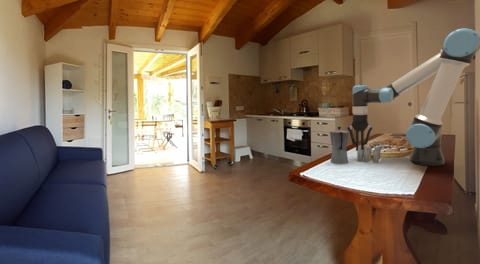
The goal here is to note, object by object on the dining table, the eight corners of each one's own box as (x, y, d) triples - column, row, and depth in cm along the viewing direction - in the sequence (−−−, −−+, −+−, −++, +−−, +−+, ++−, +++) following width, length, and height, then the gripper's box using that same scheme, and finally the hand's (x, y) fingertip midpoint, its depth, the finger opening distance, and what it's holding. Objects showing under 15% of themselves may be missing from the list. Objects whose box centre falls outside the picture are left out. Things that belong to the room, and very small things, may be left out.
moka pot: (345, 160, 164) (345, 124, 161) (353, 167, 149) (353, 128, 146) (327, 160, 165) (327, 125, 162) (333, 167, 150) (333, 129, 147)
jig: (381, 159, 162) (381, 147, 161) (379, 165, 151) (379, 151, 150) (360, 158, 167) (360, 146, 166) (356, 163, 156) (357, 150, 156)
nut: (372, 158, 161) (372, 153, 160) (373, 160, 156) (373, 155, 156) (363, 158, 162) (363, 153, 162) (364, 160, 158) (364, 155, 157)
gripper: (373, 113, 158) (373, 156, 161) (348, 113, 165) (348, 154, 168) (372, 114, 152) (372, 159, 155) (346, 114, 158) (346, 157, 161)
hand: (359, 156), depth 161 cm, fingers closed
